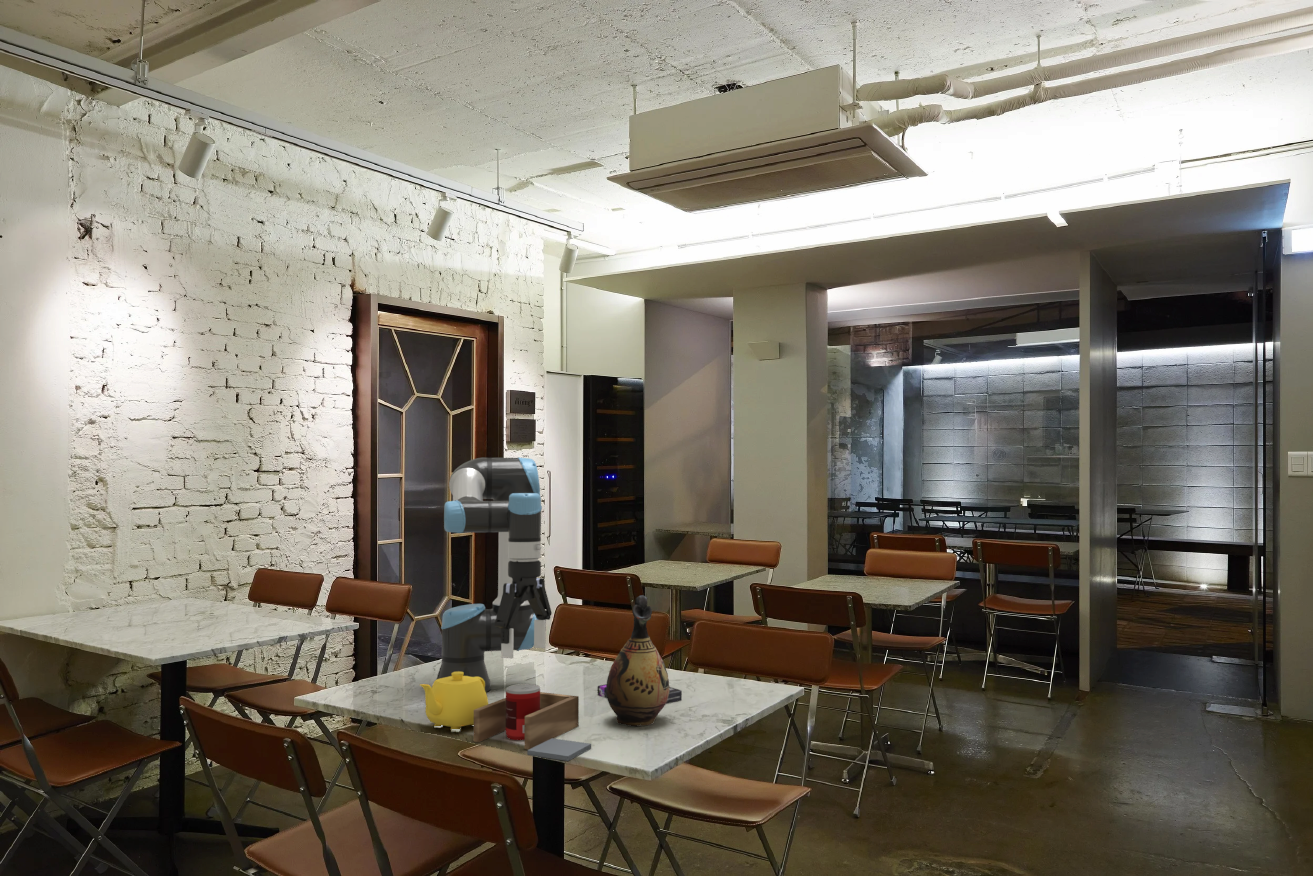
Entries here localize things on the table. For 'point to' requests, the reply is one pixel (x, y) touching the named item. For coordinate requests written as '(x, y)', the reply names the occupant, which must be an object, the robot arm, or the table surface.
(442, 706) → the teapot
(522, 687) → the canned food
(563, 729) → the shelf
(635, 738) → the table surface
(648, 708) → the ceramic jug
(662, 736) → the table surface
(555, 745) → the coaster
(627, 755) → the table surface
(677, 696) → the box
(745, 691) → the table surface
